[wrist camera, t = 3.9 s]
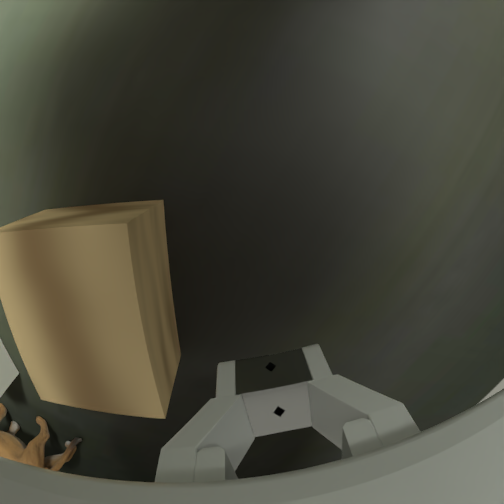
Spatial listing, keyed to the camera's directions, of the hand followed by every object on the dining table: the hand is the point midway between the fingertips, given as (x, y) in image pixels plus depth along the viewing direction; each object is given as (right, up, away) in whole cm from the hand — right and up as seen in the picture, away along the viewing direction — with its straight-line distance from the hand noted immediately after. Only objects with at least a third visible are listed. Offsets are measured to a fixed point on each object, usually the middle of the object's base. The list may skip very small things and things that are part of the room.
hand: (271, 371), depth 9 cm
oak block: (-9, +2, +9) cm, 13 cm away
